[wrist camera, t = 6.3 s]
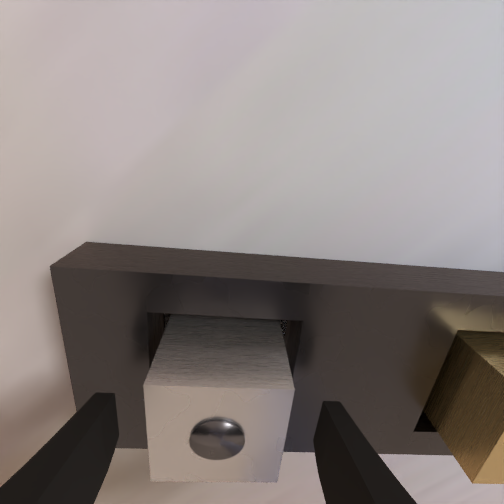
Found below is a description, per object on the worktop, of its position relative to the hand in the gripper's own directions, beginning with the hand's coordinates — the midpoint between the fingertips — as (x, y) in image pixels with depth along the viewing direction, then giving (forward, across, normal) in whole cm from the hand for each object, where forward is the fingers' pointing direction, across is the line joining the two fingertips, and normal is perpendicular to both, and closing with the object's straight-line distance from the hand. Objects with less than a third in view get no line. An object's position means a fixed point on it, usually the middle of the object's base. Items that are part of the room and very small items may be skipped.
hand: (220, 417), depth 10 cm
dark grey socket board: (+4, -6, 0) cm, 7 cm away
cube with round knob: (+4, 0, 0) cm, 4 cm away
